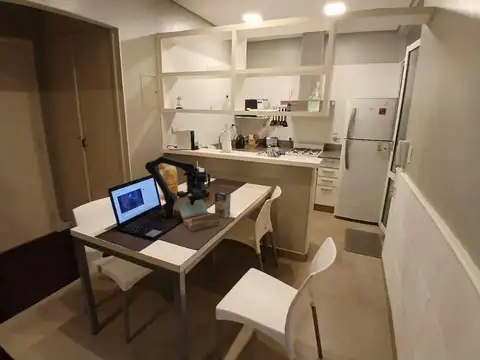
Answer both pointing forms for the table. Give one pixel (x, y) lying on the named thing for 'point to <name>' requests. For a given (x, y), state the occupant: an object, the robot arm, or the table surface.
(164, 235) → the table surface
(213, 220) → the brown wooden block
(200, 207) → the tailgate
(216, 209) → the coffee box
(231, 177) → the table surface
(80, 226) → the table surface
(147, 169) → the robot arm
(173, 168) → the pancake mix bag
